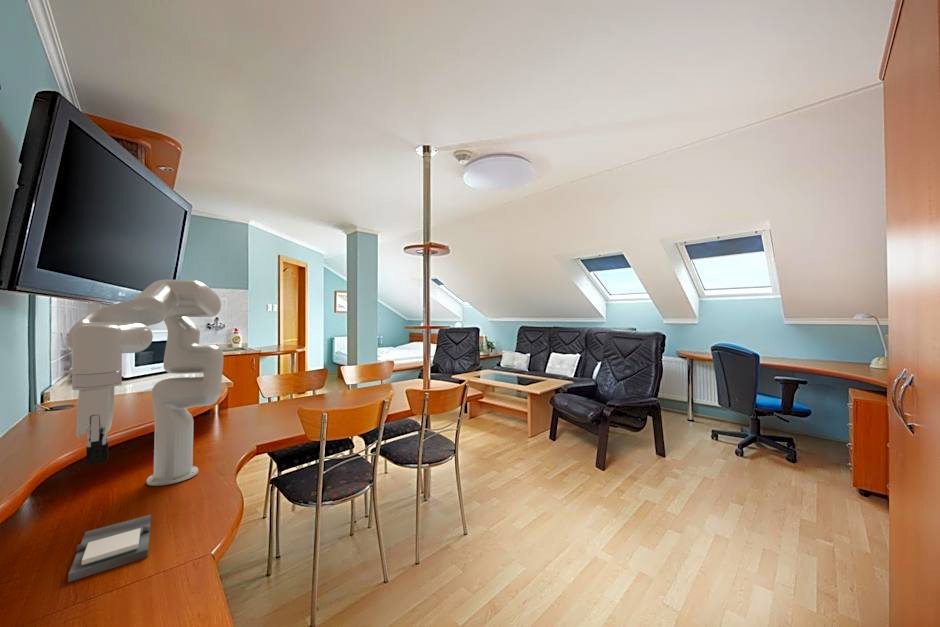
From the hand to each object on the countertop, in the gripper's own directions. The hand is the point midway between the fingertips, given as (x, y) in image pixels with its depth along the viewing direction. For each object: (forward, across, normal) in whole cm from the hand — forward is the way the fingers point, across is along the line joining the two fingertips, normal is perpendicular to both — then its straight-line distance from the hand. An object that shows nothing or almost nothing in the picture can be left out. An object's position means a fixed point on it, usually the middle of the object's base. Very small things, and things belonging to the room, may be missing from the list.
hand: (97, 462), depth 77 cm
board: (+18, +5, +3) cm, 19 cm away
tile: (+15, +9, +3) cm, 17 cm away
